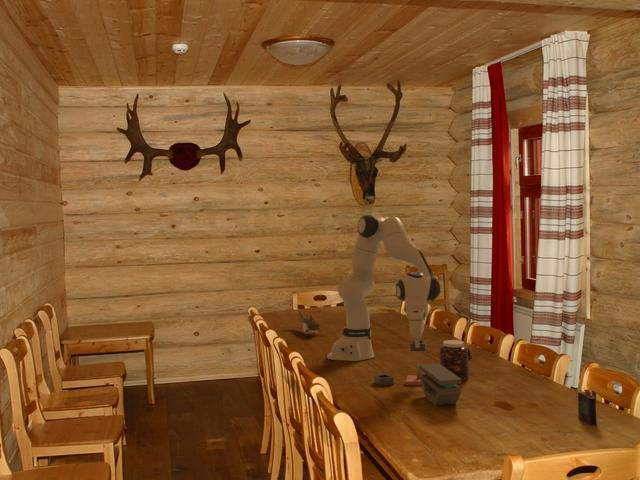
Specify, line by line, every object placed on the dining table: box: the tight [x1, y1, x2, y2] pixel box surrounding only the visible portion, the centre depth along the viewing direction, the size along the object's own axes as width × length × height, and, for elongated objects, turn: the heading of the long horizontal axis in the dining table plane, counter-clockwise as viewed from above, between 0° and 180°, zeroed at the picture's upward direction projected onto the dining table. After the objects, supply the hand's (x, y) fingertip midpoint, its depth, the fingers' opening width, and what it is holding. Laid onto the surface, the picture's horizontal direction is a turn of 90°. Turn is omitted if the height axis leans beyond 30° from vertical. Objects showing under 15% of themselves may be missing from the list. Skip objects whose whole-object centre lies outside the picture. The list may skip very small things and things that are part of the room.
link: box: [409, 340, 427, 352], centre depth 290 cm, size 6×6×3 cm
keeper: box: [404, 364, 423, 387], centre depth 291 cm, size 10×10×7 cm
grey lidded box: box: [418, 362, 463, 407], centre depth 264 cm, size 25×8×11 cm, turn 9°
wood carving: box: [297, 309, 322, 333], centre depth 406 cm, size 9×35×11 cm, turn 18°
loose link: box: [373, 373, 394, 387], centre depth 291 cm, size 6×6×3 cm
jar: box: [439, 339, 470, 382], centre depth 295 cm, size 12×12×15 cm
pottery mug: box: [464, 344, 473, 360], centre depth 330 cm, size 12×10×8 cm
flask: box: [577, 388, 598, 427], centre depth 234 cm, size 9×3×11 cm, turn 8°
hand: (418, 345), depth 290 cm, fingers closed on link, 6 cm apart
